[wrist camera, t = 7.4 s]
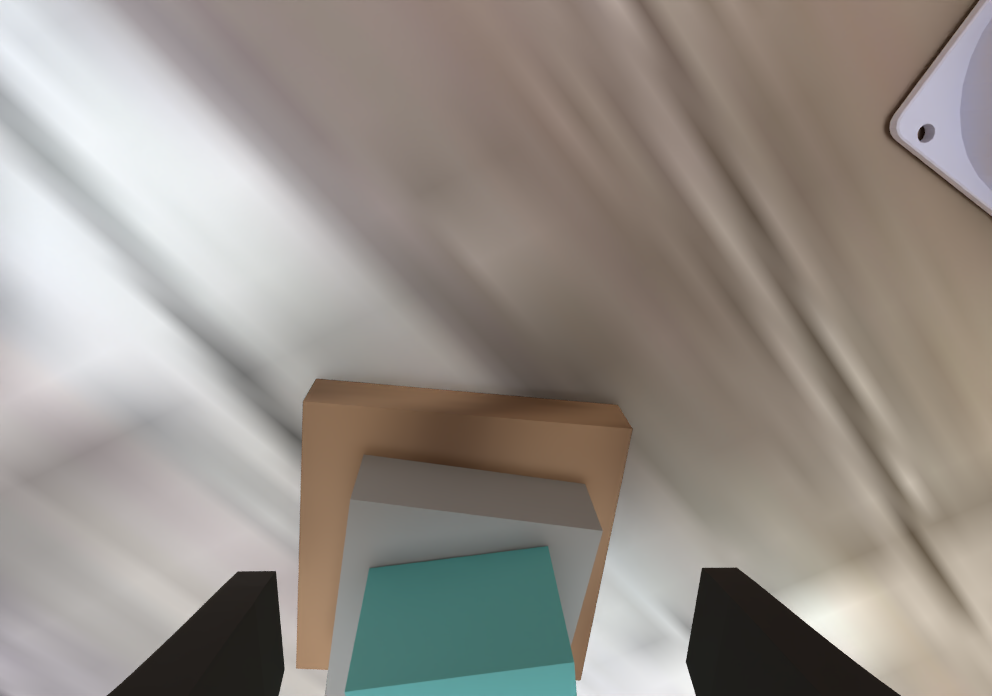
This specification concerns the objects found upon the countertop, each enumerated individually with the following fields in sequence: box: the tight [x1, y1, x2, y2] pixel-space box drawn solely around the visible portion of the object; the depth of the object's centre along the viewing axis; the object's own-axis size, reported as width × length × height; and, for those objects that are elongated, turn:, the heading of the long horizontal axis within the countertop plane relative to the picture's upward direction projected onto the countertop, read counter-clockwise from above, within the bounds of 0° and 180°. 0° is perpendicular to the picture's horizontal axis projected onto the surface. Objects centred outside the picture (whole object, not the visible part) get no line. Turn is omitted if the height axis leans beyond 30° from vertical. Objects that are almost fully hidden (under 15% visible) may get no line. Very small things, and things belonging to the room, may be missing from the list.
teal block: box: [345, 546, 577, 696], centre depth 16 cm, size 5×5×4 cm
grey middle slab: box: [325, 455, 603, 696], centre depth 19 cm, size 7×7×2 cm
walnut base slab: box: [296, 379, 633, 680], centre depth 21 cm, size 10×10×2 cm
